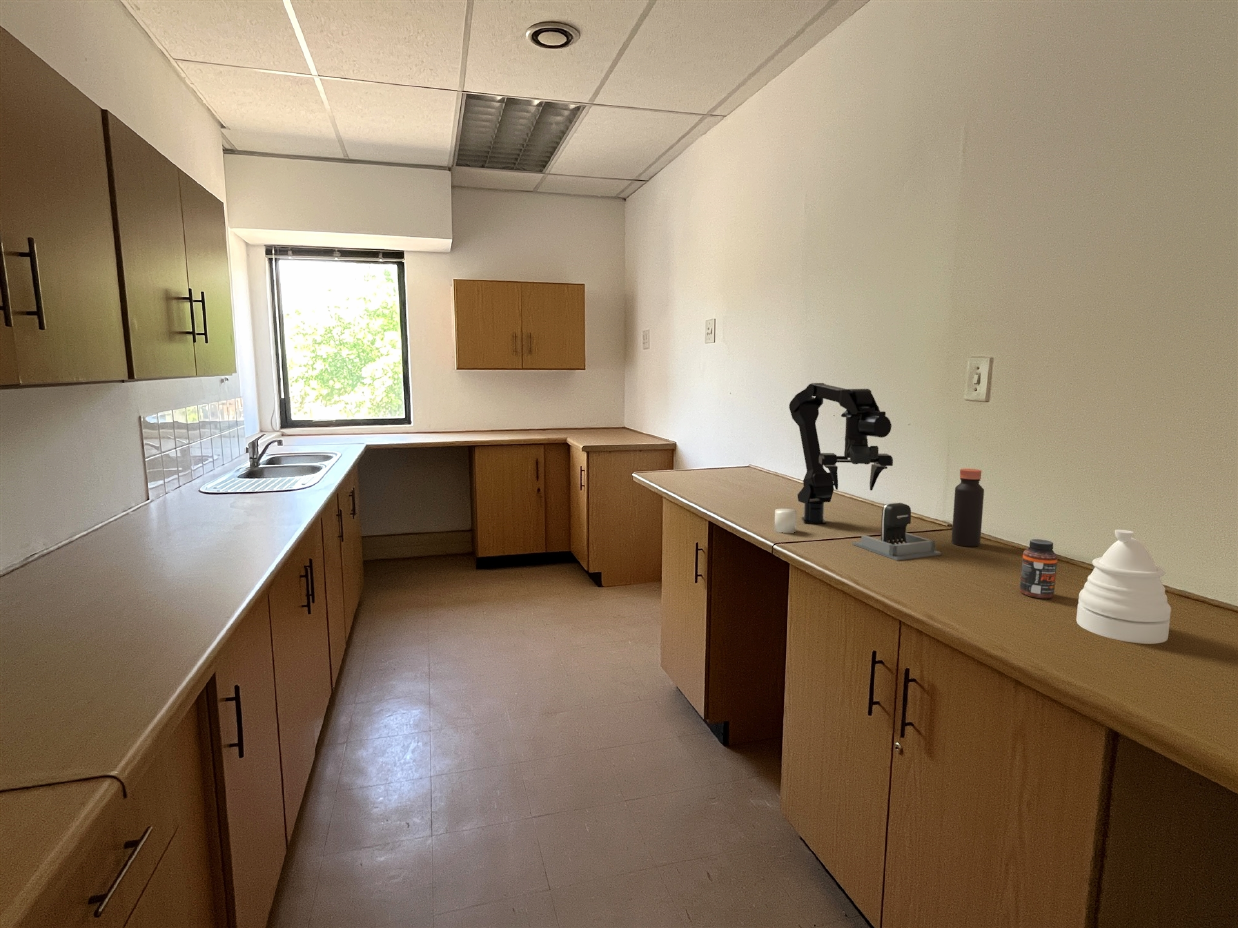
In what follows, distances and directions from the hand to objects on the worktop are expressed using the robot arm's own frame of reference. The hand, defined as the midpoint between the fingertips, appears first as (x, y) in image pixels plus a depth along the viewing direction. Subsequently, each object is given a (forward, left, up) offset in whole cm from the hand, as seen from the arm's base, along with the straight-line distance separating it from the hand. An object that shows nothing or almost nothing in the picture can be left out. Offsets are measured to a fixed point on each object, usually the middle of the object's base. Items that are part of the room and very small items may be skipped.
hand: (853, 489), depth 178 cm
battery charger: (+14, +8, -13) cm, 20 cm away
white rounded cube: (-3, -18, -13) cm, 22 cm away
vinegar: (+6, +28, -13) cm, 32 cm away
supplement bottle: (+46, +27, -13) cm, 55 cm away
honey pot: (+63, +33, -13) cm, 72 cm away
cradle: (+14, +8, -13) cm, 21 cm away
